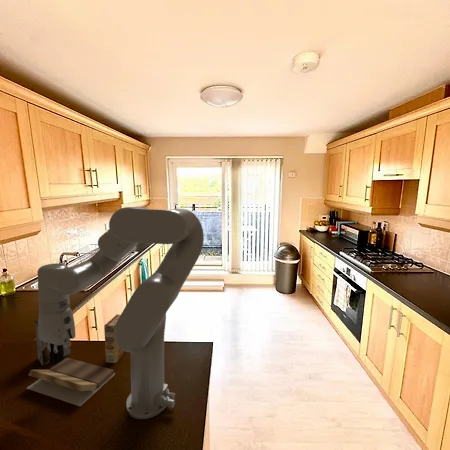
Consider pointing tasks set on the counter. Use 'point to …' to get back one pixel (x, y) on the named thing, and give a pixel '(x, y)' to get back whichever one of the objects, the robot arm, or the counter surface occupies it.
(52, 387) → the underlay mat
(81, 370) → the walnut plank
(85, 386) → the oak plank
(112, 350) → the candy box
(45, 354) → the coffee box
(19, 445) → the counter surface
